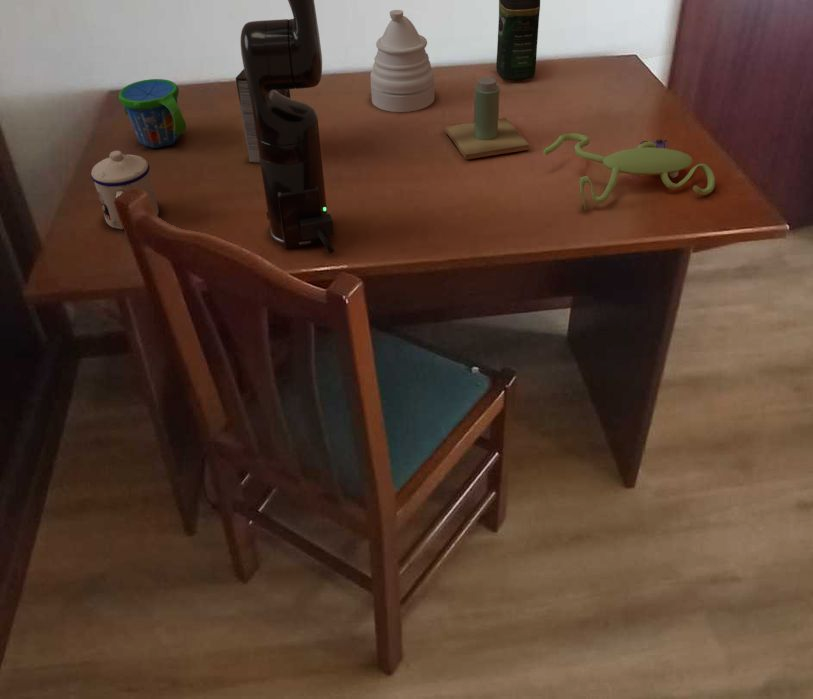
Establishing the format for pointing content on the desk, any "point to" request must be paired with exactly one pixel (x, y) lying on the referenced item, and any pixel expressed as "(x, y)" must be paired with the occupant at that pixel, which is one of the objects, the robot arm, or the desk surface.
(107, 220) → the teacup with lid
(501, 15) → the coffee jar
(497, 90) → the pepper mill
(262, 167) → the robot arm
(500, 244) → the desk surface
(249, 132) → the coffee box
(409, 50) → the honey pot
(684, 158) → the figurine
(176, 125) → the snack cup
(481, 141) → the plate
